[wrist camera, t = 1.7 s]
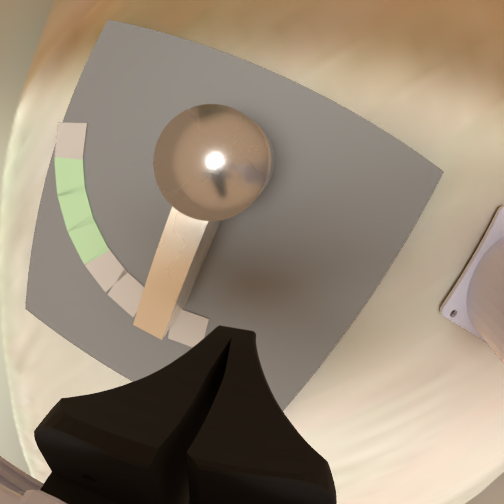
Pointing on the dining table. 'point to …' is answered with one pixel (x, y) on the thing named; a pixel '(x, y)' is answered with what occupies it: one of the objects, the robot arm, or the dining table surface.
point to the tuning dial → (199, 199)
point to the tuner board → (231, 229)
